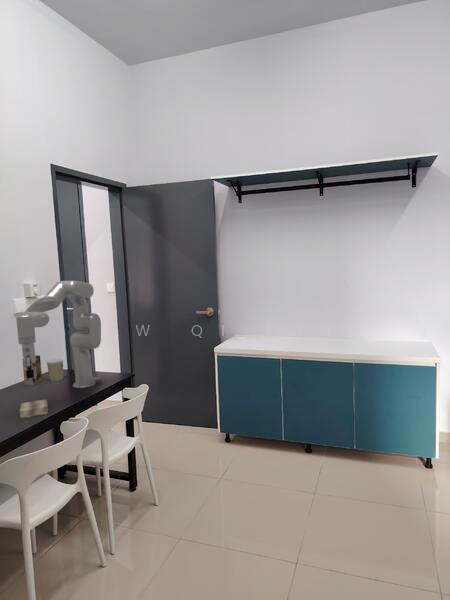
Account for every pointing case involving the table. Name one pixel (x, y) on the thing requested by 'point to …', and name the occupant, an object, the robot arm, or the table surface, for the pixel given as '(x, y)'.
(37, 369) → the coffee box
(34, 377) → the terracotta cube
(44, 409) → the birch block
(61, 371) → the coffee cup
